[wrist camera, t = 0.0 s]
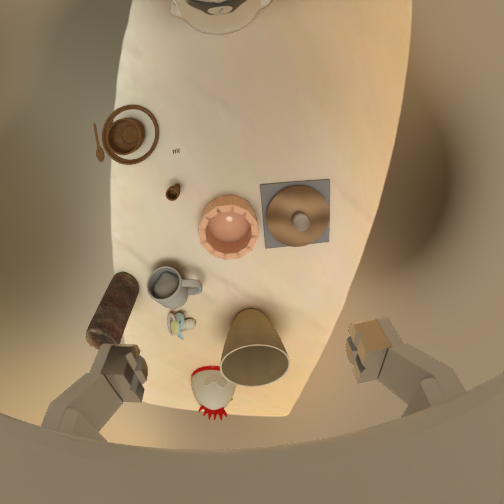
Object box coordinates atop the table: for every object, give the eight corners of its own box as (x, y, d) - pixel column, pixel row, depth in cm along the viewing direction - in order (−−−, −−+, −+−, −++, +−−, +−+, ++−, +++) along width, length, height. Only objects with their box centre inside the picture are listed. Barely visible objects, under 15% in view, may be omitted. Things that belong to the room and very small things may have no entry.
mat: (260, 184, 56) (260, 185, 56) (328, 179, 56) (329, 179, 56) (265, 247, 63) (265, 248, 62) (328, 240, 63) (328, 241, 62)
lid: (263, 187, 56) (265, 194, 52) (327, 182, 56) (334, 188, 52) (267, 246, 62) (270, 257, 58) (326, 240, 62) (333, 250, 58)
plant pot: (230, 344, 76) (231, 391, 62) (213, 303, 69) (210, 352, 55) (284, 333, 75) (294, 379, 61) (274, 290, 68) (284, 337, 54)
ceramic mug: (167, 278, 67) (154, 307, 63) (155, 261, 60) (140, 293, 56) (208, 290, 65) (195, 321, 61) (199, 274, 58) (184, 309, 54)
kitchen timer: (232, 392, 88) (232, 430, 75) (190, 388, 86) (187, 426, 73) (239, 368, 81) (240, 409, 68) (192, 362, 80) (188, 404, 66)
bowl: (198, 199, 57) (194, 209, 51) (253, 192, 57) (255, 202, 51) (206, 247, 62) (204, 261, 57) (258, 242, 62) (260, 255, 57)
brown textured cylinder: (146, 285, 66) (123, 345, 48) (131, 302, 68) (107, 361, 50) (121, 266, 63) (90, 322, 45) (107, 283, 65) (76, 340, 47)
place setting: (169, 94, 47) (161, 92, 42) (188, 190, 56) (183, 199, 51) (90, 119, 47) (76, 121, 42) (112, 207, 57) (101, 217, 52)
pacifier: (165, 308, 69) (178, 319, 65) (186, 303, 73) (199, 313, 69) (165, 332, 71) (178, 344, 67) (184, 326, 75) (198, 337, 72)
